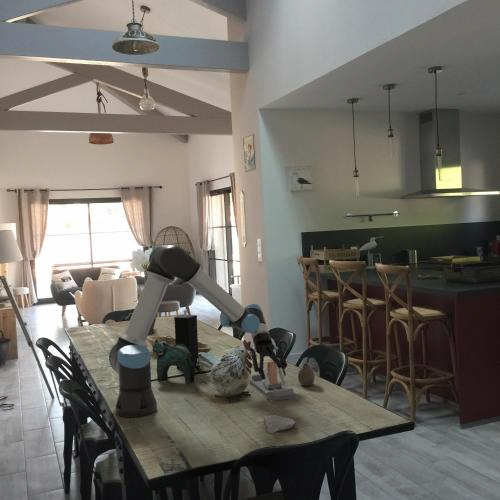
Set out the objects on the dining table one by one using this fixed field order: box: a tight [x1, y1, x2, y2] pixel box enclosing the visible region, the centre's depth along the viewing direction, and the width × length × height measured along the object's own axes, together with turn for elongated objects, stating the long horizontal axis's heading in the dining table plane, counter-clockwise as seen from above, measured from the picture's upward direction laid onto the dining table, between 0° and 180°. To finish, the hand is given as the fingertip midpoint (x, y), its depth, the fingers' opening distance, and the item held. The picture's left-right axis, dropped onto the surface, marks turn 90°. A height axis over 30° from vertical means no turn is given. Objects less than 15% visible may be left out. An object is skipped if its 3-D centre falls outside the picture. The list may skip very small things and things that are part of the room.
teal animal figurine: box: [152, 335, 196, 384], centre depth 242 cm, size 20×6×20 cm, turn 62°
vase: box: [297, 363, 316, 387], centre depth 229 cm, size 7×7×9 cm
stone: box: [263, 414, 296, 434], centre depth 184 cm, size 10×12×4 cm
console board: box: [249, 372, 297, 402], centre depth 224 cm, size 26×10×4 cm, turn 19°
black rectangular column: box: [173, 309, 199, 370], centre depth 264 cm, size 8×8×28 cm
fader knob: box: [263, 361, 283, 389], centre depth 222 cm, size 5×6×10 cm
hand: (276, 384), depth 219 cm, fingers open, 6 cm apart
